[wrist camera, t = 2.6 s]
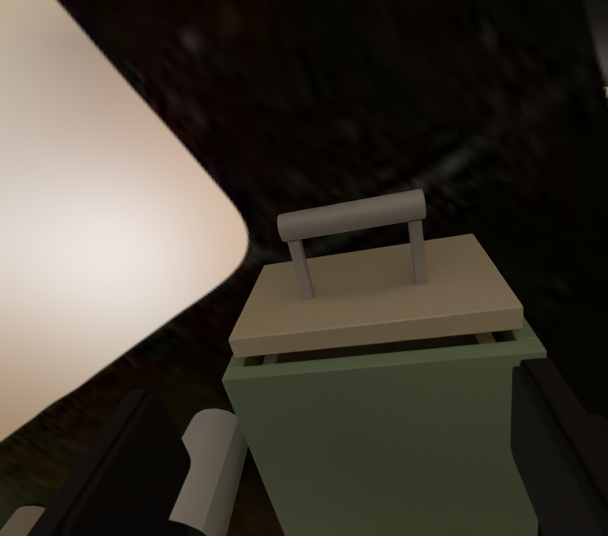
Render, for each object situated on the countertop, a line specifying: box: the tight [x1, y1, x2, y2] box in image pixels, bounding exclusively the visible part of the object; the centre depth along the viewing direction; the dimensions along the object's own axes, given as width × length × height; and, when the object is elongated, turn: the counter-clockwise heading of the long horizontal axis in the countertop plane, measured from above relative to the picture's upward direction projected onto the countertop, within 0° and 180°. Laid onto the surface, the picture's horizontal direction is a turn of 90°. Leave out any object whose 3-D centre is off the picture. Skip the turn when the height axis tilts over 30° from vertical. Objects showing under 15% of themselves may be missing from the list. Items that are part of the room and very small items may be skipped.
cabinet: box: [222, 316, 547, 536], centre depth 26 cm, size 16×15×10 cm
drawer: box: [229, 189, 523, 365], centre depth 24 cm, size 20×14×8 cm
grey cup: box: [162, 409, 248, 536], centre depth 32 cm, size 7×7×10 cm
